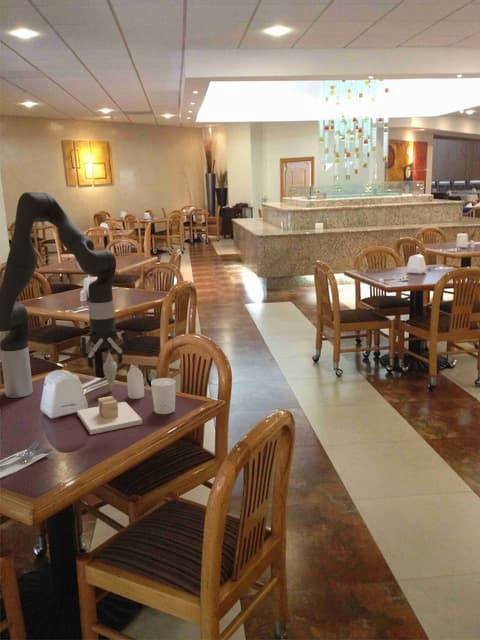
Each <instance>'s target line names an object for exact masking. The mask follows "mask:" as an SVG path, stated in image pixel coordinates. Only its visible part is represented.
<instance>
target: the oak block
mask: <svg viewBox="0 0 480 640" xmlns="http://www.w3.org/2000/svg"><path fill="white" fill-rule="evenodd" d="M97 399H98V400H97V401H98V406H99V413H100V415H101V416H102V417H103V418H104V419H109V418H114V417H118V403H119V402H118V401H117V400H116V398H114V396H113V395H109V396H105V397H104V396H103V397H100V398H99V397H98V398H97Z"/></svg>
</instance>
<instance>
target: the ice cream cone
mask: <svg viewBox="0 0 480 640" xmlns="http://www.w3.org/2000/svg"><path fill="white" fill-rule="evenodd" d="M102 368H103V369H102V371H103V373H104V376H105V380H106V382H107V384H108V387H109V390H110V391H111V392H113V390H114V385H115V381H116V375H117V372H118V371H117V370H118V364H117V361H114V357H113V356H112V354H111V353H110V351H108V352H107V356H106V359H105V362H104V363H103V367H102Z"/></svg>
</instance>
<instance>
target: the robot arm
mask: <svg viewBox="0 0 480 640" xmlns="http://www.w3.org/2000/svg"><path fill="white" fill-rule="evenodd" d="M45 222H46V223H50V224H51V225H53V226H54V227H56V228H57V229H56V230H57V234H58V238H59V239H58V240H60V243H61V244H62V245H63V246H64V247H65V248H66V250H68V251H69V252H70V253H71V254H72V255H73V257H74V258H75V260H76V262H77V263H78V265H79V267H80V268H81V270H82V271H83V272H84V273H85V274H88V275H91V276H93V275H97V278H96V279H95V280H94V281H91V282H90V283H89V284H88V290H87V291H88V316H89V329H90V330H89V331H90V334H89V336H88V335H87V336H84V335H80V336H79V353H80V355H81V356H82V357H86V363H87V367H88V368H89V369H90V370H94V369H95V368H94V358H93V356H94V354H95V353H96V352H97V351H98V349H99V350H102V349H104V348H106V349H107V348H111V347H112V348H113V349H114V350H116V352H115V358H116V364H117V366H118V365H119V366H120V365H121V364H122V363H123V353H124V352H125V351H128V347H129V346H128V338H127V332H125V331H124V330H121V331H120V332H119V331H118V332H117V331H116V320H115V319H116V318H115V315H116V313H115V306H114V298H113V297H114V296H113V285H114V280H115V275H116V269H117V259H116V256H115V254H114V253H113V251H111V250H110V249H105V248H104V249H96V250H94V247H95V243H94V242H93V240H92V239H91V238H90V237H89V236H88V235H86V233H85V232H84V231H83V230H82V229H80V228H79V227H78V226H77V225H76V224H75V223H74V222H73V221H72V219H71V218H70V217H69V216H68V214H67V213H66V211H65V210H64V208H63V207H62V206H61V205H60V203H59V202H58V201H57V199H56V198H55V197H54V196H52V194H49V193H46V192H32V191H31V192H30V191H28V192H23V193H22V194H21V195H20V197H19V199H18V202H17V205H16V212H15V219H14V229H13V235H12V240H11V244H10V248H9V252H8V255H7V258H6V262H5V269H4V273H3V278H2V280H1V281H2V282H1V285H0V332H2V333H3V332H8V334H7V335H6V336H5V337H4V338H3V339H1V341H0V357H1V365H2V372H3V373H2V374H3V384H4V391H5V392H4V393H5V397H7V398H11V399H18V398H24V397H27V396H30V395H31V394H33V393H34V392H33V381H32V380H33V379H32V378H33V377H32V371H31V359H30V353H29V352H30V350H29V341H30V325H29V324H30V321H29V314H28V310H27V308H26V307H25V305H24V304H23V303H21V302H19V301H17V299H18V298H19V296H20V295H21V294H22V292H23V291H24V290H25V289H26V288H27V286H28V285H29V284H30V283H31V281H32V280H33V277H34V275H35V271H36V268H37V265H38V254H37V250H36V248H35V245H34V243H33V240H32V230H33V225H34V223H45ZM117 338H119V339H120V343H121V346H119V345H118V344H117V343H116V342H115V341H116V340H117ZM89 341H90V342H91V344H90V346H89V348H88V350H87V344H88V342H89Z"/></svg>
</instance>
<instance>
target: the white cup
mask: <svg viewBox="0 0 480 640" xmlns="http://www.w3.org/2000/svg"><path fill="white" fill-rule="evenodd" d="M150 385H151V396H152V404H153V410H154V413H156V414H157V415H169V414H172V413H174V412H175V411H176V379H173V378H170V377H160V378H156V379H153V380H151V382H150Z"/></svg>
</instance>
